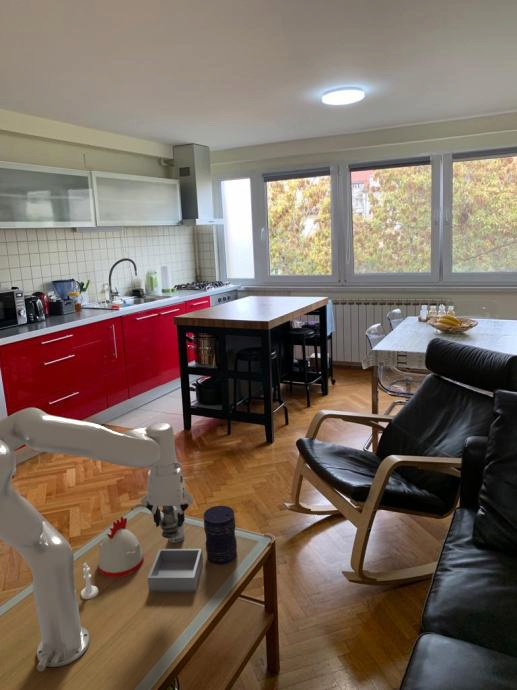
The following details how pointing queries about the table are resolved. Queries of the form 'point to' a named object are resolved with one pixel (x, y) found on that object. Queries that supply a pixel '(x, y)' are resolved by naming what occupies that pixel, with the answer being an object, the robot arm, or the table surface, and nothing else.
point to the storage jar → (220, 535)
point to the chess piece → (88, 585)
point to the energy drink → (181, 534)
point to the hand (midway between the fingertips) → (169, 523)
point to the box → (175, 571)
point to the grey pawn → (169, 523)
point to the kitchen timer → (120, 552)
